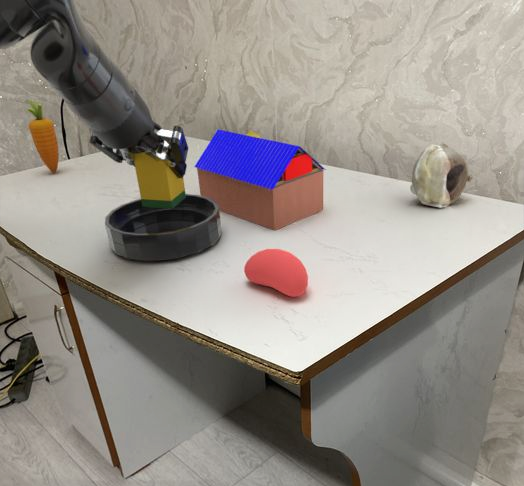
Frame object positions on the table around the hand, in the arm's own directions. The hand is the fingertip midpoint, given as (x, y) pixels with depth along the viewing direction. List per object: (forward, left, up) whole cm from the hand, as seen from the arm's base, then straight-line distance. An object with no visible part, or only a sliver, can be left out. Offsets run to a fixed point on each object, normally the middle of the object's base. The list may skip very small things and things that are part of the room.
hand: (165, 171), depth 81 cm
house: (+15, +6, -10) cm, 19 cm away
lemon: (+18, +27, -10) cm, 34 cm away
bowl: (-2, -3, -10) cm, 10 cm away
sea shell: (+44, -3, -10) cm, 46 cm away
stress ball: (+11, -24, -10) cm, 28 cm away
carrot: (-24, +45, -10) cm, 52 cm away
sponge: (-1, -2, -4) cm, 5 cm away
